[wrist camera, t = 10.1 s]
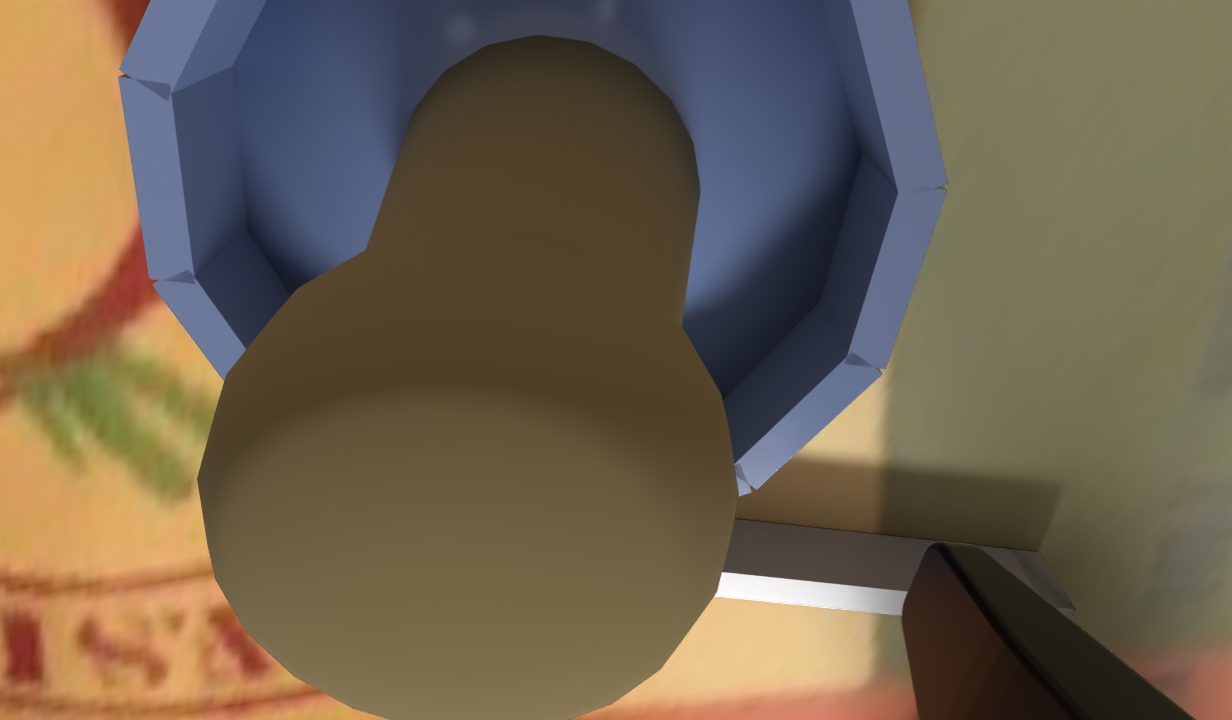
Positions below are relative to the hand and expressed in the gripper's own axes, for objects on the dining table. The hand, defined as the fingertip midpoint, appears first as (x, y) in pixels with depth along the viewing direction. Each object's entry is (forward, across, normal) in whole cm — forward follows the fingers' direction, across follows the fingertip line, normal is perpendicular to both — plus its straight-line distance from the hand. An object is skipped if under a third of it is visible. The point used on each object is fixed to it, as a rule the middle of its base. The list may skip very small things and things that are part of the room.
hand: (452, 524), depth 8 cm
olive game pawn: (+10, 0, 0) cm, 10 cm away
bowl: (+11, 0, 0) cm, 11 cm away
